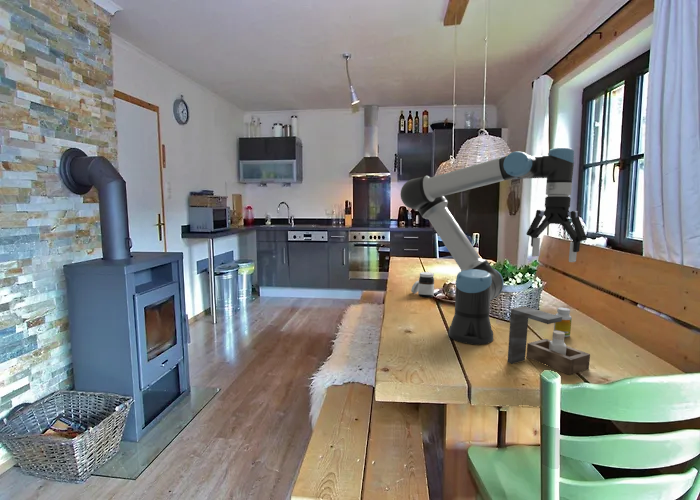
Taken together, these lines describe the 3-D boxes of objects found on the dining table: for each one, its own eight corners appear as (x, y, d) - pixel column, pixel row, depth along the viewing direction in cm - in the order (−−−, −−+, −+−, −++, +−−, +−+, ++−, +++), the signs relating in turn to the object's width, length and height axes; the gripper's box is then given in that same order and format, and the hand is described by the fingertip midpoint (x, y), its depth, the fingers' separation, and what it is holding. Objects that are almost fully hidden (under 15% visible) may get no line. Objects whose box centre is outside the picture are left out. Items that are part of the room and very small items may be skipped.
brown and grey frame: (507, 362, 118) (511, 308, 115) (545, 352, 126) (549, 301, 124) (550, 381, 105) (555, 322, 103) (588, 368, 114) (594, 313, 111)
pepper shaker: (550, 364, 116) (553, 333, 115) (547, 359, 120) (550, 329, 119) (565, 366, 115) (568, 335, 114) (562, 361, 119) (564, 330, 118)
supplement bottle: (572, 337, 139) (574, 311, 138) (555, 336, 140) (558, 310, 139) (567, 332, 144) (569, 307, 143) (551, 331, 145) (553, 306, 144)
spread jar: (433, 299, 191) (434, 275, 190) (410, 297, 194) (410, 274, 192) (434, 293, 203) (434, 271, 201) (412, 291, 206) (412, 270, 204)
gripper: (518, 195, 139) (514, 254, 142) (588, 195, 118) (582, 265, 120) (532, 196, 143) (528, 253, 146) (603, 196, 121) (596, 263, 124)
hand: (552, 258), depth 133 cm, fingers open, 13 cm apart
